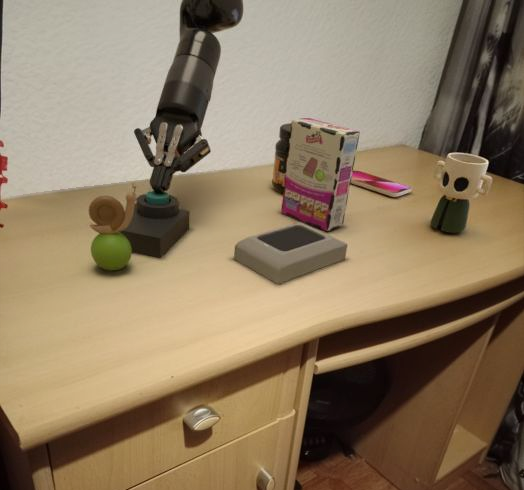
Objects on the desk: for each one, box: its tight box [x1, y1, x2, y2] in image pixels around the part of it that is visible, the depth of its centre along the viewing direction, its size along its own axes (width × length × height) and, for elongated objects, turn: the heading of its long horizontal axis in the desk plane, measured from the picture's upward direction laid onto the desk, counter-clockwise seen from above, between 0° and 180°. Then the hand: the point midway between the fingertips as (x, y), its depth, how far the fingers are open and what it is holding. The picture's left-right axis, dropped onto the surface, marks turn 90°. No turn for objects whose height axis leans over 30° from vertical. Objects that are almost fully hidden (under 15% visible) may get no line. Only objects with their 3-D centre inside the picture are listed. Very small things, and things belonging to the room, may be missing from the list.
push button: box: [145, 190, 170, 205], centre depth 86 cm, size 4×4×3 cm
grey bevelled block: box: [233, 221, 348, 285], centre depth 83 cm, size 10×4×15 cm
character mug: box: [430, 152, 493, 234], centre depth 97 cm, size 11×7×13 cm, turn 42°
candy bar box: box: [280, 117, 361, 232], centre depth 94 cm, size 11×5×16 cm, turn 47°
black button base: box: [119, 193, 191, 259], centre depth 85 cm, size 13×9×5 cm
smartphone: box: [350, 170, 412, 198], centre depth 118 cm, size 7×1×15 cm
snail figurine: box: [88, 182, 138, 271], centre depth 73 cm, size 5×6×12 cm
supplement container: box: [271, 122, 291, 195], centre depth 108 cm, size 10×10×12 cm
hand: (157, 190), depth 85 cm, fingers closed
